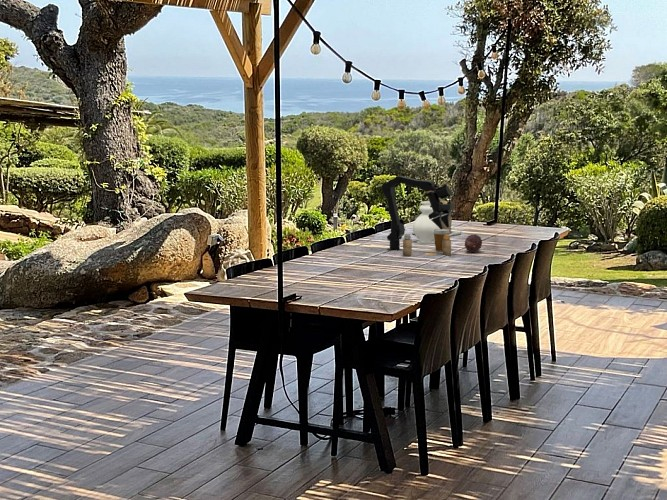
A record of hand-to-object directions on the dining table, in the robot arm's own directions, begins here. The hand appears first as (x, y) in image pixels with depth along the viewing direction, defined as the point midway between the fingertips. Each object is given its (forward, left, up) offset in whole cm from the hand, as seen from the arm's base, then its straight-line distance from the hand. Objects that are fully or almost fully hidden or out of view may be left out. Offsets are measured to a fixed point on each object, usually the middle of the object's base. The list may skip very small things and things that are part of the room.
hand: (445, 228), depth 482 cm
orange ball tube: (+5, -2, -15) cm, 16 cm away
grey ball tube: (0, -24, -14) cm, 28 cm away
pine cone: (-1, +20, -15) cm, 25 cm away
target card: (0, -16, -15) cm, 22 cm away
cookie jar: (-71, +38, -15) cm, 82 cm away
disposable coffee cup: (-13, +6, -15) cm, 21 cm away
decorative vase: (-43, +14, -15) cm, 48 cm away
